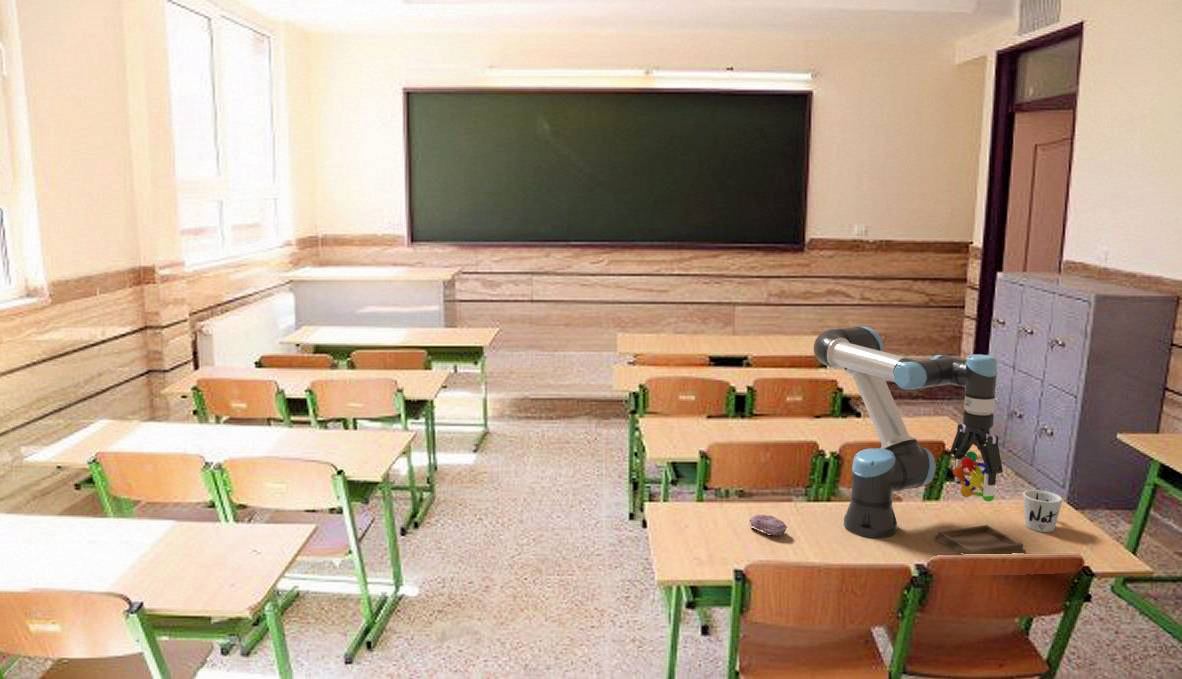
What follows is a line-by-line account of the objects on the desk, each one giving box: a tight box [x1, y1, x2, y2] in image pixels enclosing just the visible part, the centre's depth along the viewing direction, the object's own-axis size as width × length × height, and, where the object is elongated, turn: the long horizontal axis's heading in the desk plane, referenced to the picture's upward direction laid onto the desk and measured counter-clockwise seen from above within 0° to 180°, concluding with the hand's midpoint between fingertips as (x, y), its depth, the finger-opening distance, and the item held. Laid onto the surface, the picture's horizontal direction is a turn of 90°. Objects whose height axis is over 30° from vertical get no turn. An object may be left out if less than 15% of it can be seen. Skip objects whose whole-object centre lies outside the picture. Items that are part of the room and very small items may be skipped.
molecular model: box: [952, 450, 995, 502], centre depth 229 cm, size 11×7×12 cm, turn 5°
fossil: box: [749, 514, 788, 536], centre depth 246 cm, size 8×14×5 cm, turn 29°
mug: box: [1022, 489, 1063, 533], centre depth 249 cm, size 10×15×10 cm
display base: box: [934, 524, 1026, 554], centre depth 235 cm, size 16×17×2 cm
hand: (973, 488), depth 229 cm, fingers closed on molecular model, 11 cm apart
